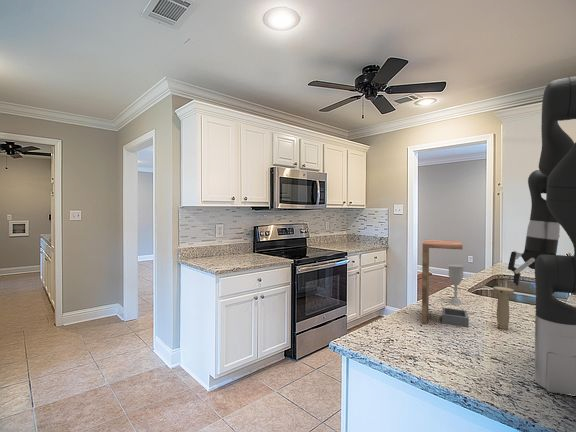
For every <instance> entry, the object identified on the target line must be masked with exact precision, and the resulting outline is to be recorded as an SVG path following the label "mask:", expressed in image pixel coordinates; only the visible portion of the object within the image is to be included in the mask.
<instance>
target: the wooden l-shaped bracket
mask: <svg viewBox="0 0 576 432" xmlns="http://www.w3.org/2000/svg"><path fill="white" fill-rule="evenodd" d="M430 249H442V250H443V249H445V250H446V249H448V250H460V251H461V250H463V243H462V241H461V240H452V239H451V240H450V239H449V240H446V239H424V241H422V253H421V254H422V255H421V256H422V260H421V261H422V262H421V264H422V265H421V267H422V268H421V269H422V271H421V273H422V275H421V277H422V282H421V288H422V289H421V292H422V293H421V324H422V325H427V324H428V323H427V322H428V317H429V316H428V315H429V309H430V307H429V302H430V301H429V299H430V298H429V297H430V295H429V294H430V293H429V289H430V288H429V287H430Z"/></svg>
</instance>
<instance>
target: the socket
mask: <svg viewBox="0 0 576 432" xmlns="http://www.w3.org/2000/svg"><path fill="white" fill-rule="evenodd" d="M441 309H442V312H441V314H442V315H441V324H442V325H443V324H444V325H450V326H457V327H465V328H469V320H470V319H469V318H470V317H469V313H468V309H467V310H465V309H456V308H450V307H441Z"/></svg>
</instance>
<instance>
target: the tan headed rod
mask: <svg viewBox="0 0 576 432" xmlns="http://www.w3.org/2000/svg"><path fill="white" fill-rule="evenodd" d="M492 291H493V292H494V293H496V294H497V306H496V322H497V327H498V328H499V329H501V330H508V329H509V324H510V301H509V300H510V296H511V295H513V294H514V293H515V289H513V288H509V287H504V286H493V287H492Z"/></svg>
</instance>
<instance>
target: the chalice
mask: <svg viewBox="0 0 576 432" xmlns="http://www.w3.org/2000/svg"><path fill="white" fill-rule="evenodd" d="M447 267H448V277H449V279H450V282H451V284H452V285H453V286H454V288H453V291H454V292H453V294H454V297H451V299H450V302H449V304H450V305H454V306H461V305H462V303H461V300H460V298H458V296H457V295H458V294H459V293H458V286H460V284H461V282H462V281H463V278H464V269H465V265H462V264H447Z"/></svg>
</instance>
